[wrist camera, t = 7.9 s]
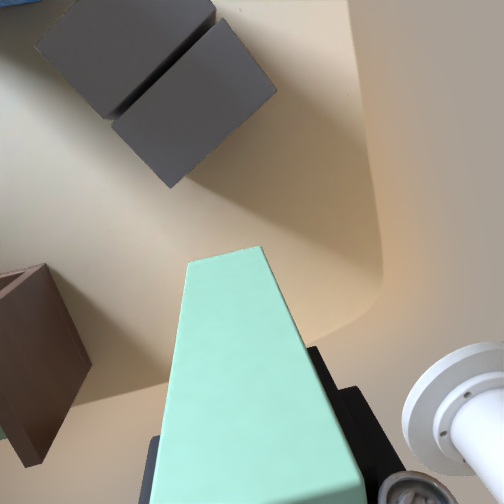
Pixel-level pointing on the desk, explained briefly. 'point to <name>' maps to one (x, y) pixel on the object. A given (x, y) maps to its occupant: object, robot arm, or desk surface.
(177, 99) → the grey blocks
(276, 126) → the desk surface
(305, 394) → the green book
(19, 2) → the ink box
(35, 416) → the book rack
